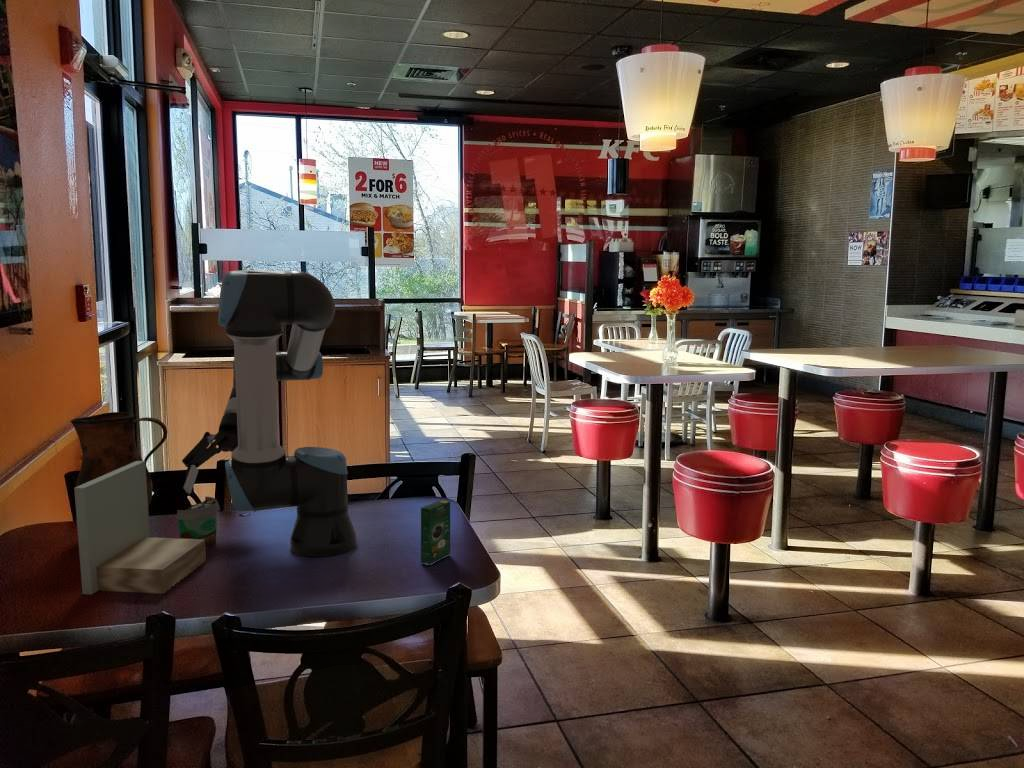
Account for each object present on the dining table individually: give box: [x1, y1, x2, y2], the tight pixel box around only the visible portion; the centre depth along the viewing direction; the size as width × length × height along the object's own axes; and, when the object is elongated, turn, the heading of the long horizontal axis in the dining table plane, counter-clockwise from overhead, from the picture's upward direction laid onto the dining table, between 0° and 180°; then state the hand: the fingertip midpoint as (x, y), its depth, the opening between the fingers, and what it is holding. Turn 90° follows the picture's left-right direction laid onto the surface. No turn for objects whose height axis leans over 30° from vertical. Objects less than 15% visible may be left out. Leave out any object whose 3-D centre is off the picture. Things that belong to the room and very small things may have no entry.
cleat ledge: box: [96, 536, 207, 594], centre depth 170 cm, size 14×18×5 cm
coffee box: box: [420, 499, 451, 564], centre depth 179 cm, size 8×3×13 cm, turn 149°
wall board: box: [73, 460, 151, 595], centre depth 169 cm, size 2×22×22 cm, turn 174°
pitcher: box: [70, 411, 168, 507], centre depth 192 cm, size 17×21×30 cm
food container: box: [176, 495, 221, 549], centre depth 188 cm, size 12×6×10 cm, turn 168°
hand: (213, 492), depth 194 cm, fingers open, 13 cm apart
